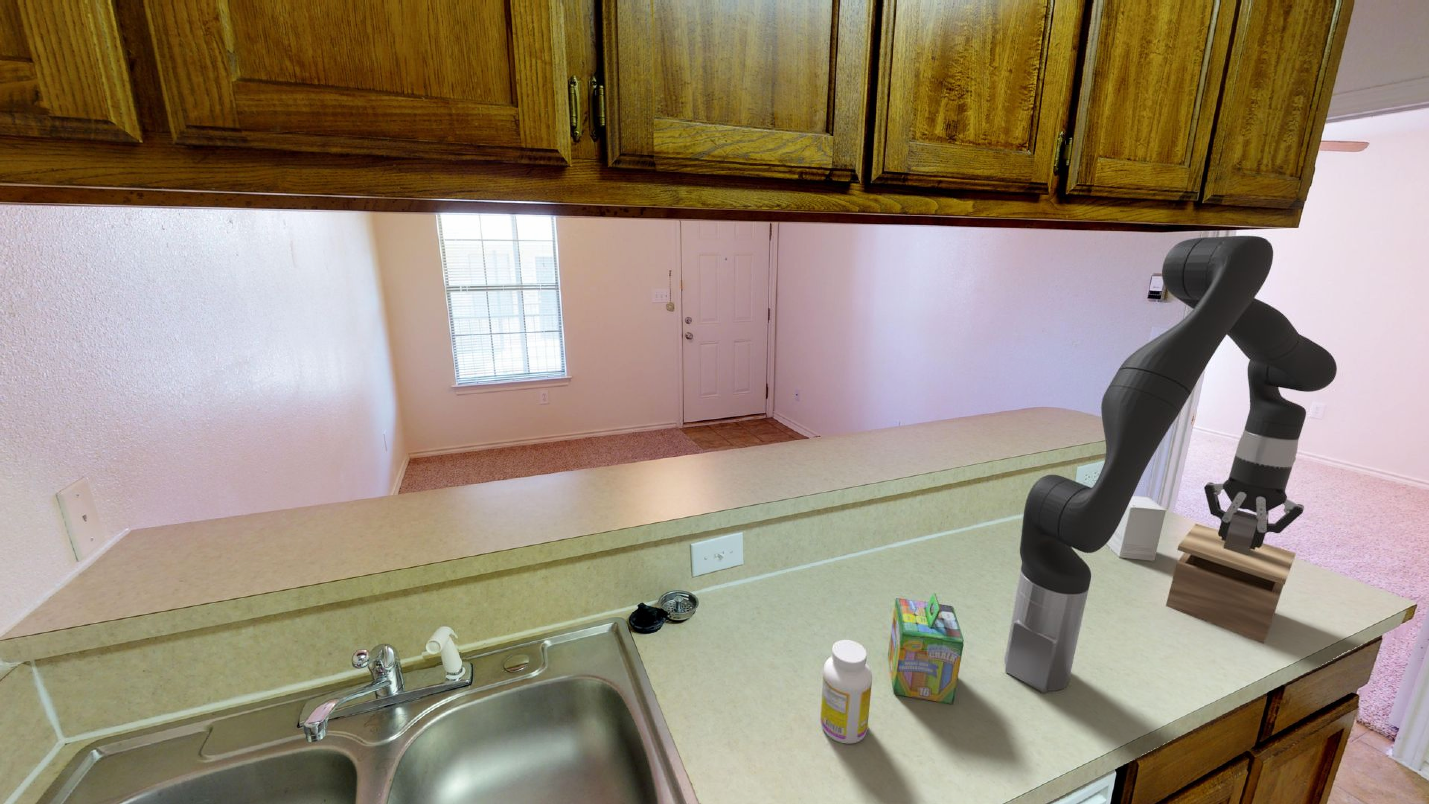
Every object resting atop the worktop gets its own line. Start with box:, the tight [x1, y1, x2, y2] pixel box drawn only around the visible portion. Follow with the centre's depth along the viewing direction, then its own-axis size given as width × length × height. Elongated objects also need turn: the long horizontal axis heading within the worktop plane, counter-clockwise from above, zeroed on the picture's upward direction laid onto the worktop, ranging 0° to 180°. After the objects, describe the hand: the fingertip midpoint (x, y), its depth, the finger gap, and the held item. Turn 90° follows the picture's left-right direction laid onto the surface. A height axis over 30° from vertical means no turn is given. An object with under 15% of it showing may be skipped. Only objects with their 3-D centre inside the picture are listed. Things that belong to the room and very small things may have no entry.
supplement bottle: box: [820, 639, 873, 744], centre depth 78 cm, size 7×7×13 cm
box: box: [1165, 552, 1284, 644], centre depth 106 cm, size 14×14×10 cm
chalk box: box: [887, 592, 965, 705], centre depth 87 cm, size 9×9×15 cm
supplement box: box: [1105, 495, 1167, 562], centre depth 127 cm, size 7×7×13 cm
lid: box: [1177, 509, 1297, 586], centre depth 103 cm, size 15×15×8 cm
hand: (1238, 543), depth 104 cm, fingers closed on lid, 3 cm apart
